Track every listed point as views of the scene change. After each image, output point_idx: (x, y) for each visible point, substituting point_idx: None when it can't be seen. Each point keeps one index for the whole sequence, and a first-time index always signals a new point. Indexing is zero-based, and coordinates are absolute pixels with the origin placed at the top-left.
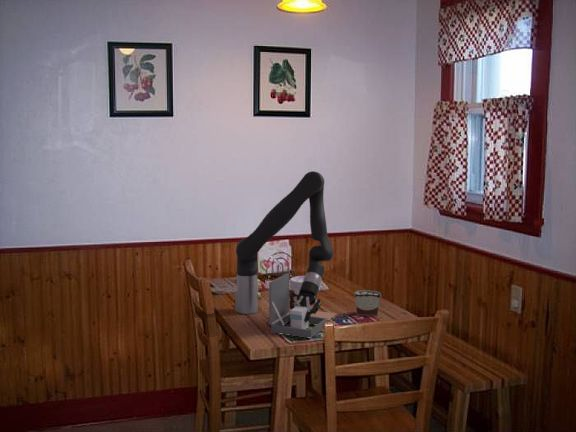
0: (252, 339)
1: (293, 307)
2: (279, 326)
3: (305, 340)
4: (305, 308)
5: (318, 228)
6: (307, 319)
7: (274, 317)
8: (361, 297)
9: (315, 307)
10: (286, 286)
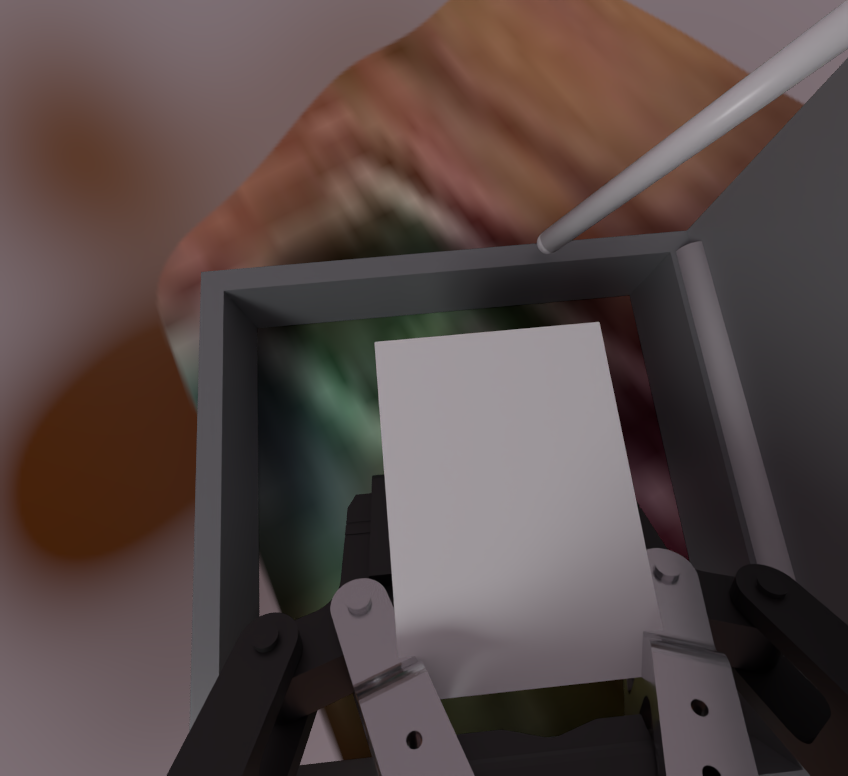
0: (665, 89)
1: (719, 614)
2: (583, 241)
3: (272, 264)
4: (414, 570)
5: None
6: (355, 500)
7: (750, 281)
8: None
9: (213, 708)
10: None
